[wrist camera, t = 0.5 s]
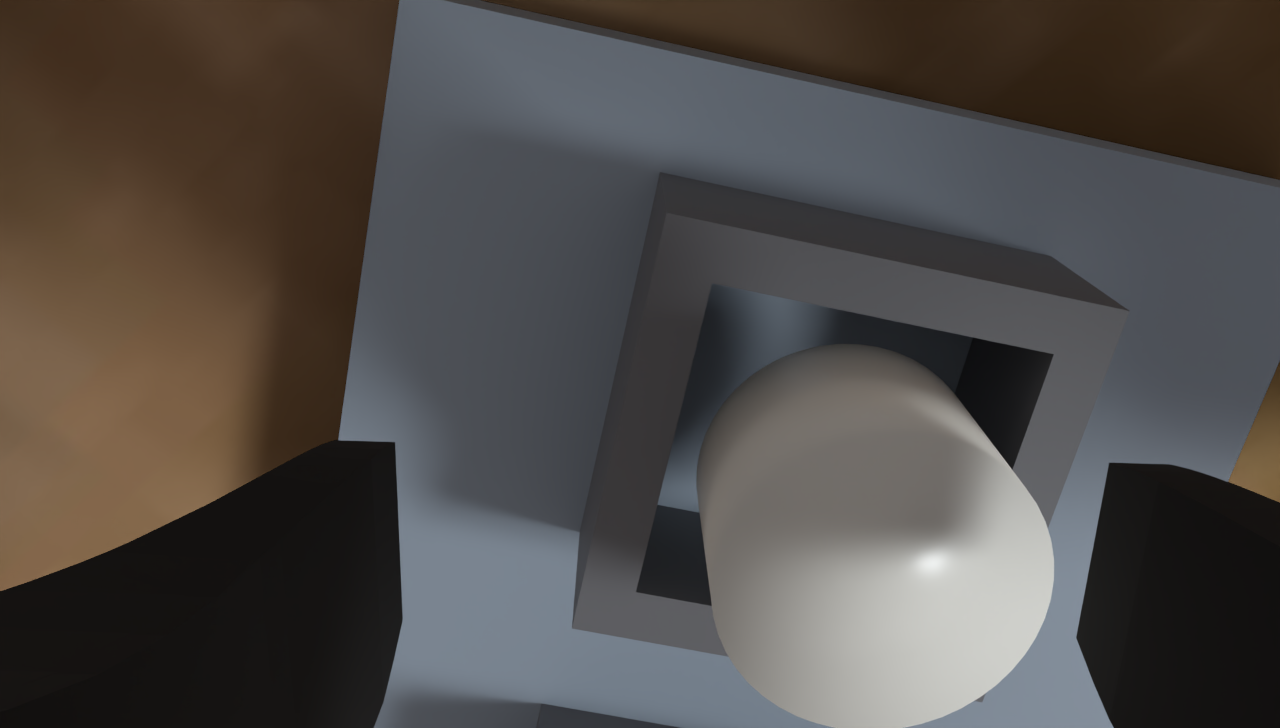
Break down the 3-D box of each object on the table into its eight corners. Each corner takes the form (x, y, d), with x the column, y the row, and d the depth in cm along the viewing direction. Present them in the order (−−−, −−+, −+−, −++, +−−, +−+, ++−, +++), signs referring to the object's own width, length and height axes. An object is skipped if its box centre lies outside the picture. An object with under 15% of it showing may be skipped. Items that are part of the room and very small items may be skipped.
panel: (1278, 179, 20) (1483, 248, 15) (936, 1020, 26) (1004, 1252, 22) (423, -13, 19) (354, -3, 14) (287, 919, 25) (209, 1141, 20)
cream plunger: (1016, 375, 16) (1102, 467, 13) (930, 622, 17) (991, 755, 14) (733, 317, 15) (758, 398, 12) (668, 573, 17) (677, 700, 14)
